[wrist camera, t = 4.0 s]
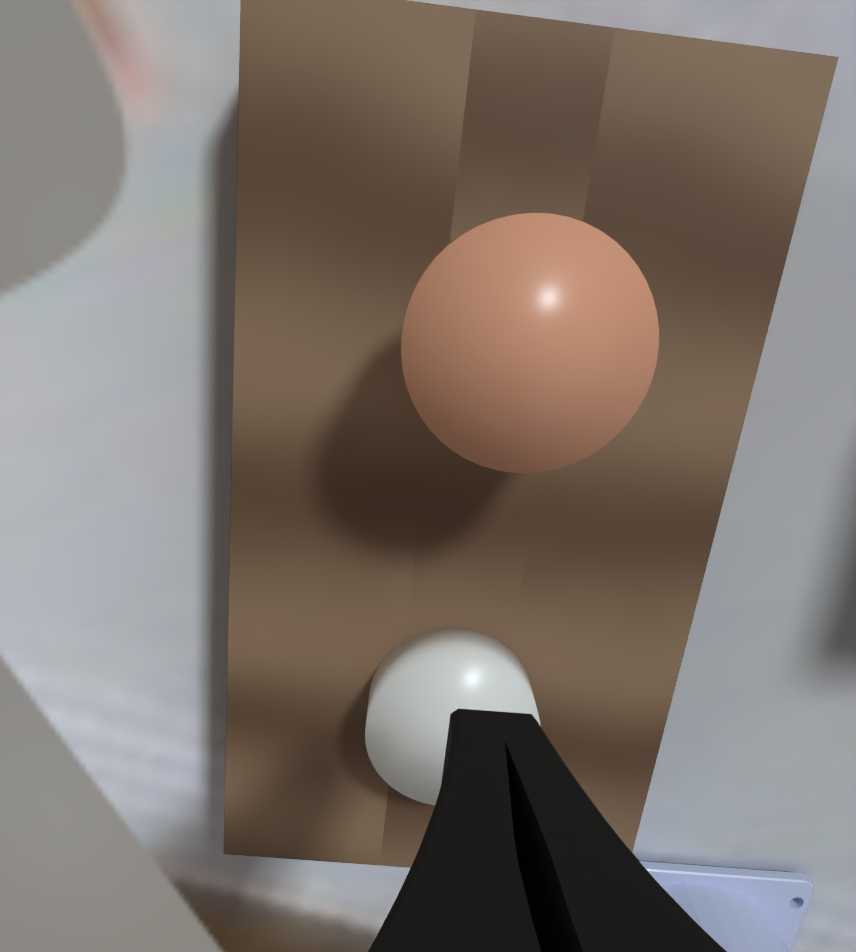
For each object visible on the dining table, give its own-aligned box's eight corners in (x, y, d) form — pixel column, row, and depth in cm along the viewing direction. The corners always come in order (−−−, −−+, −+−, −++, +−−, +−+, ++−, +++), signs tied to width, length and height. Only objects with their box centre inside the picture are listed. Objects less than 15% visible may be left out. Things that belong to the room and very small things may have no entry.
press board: (599, 806, 24) (624, 882, 21) (247, 779, 23) (223, 853, 20) (767, 89, 17) (838, 56, 14) (272, 25, 16) (241, -22, 13)
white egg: (507, 714, 22) (526, 813, 18) (368, 702, 22) (358, 799, 18) (529, 590, 20) (554, 669, 17) (381, 576, 20) (372, 652, 16)
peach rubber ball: (581, 429, 16) (630, 484, 13) (396, 410, 16) (389, 460, 12) (617, 233, 15) (684, 228, 11) (415, 210, 15) (414, 197, 11)
